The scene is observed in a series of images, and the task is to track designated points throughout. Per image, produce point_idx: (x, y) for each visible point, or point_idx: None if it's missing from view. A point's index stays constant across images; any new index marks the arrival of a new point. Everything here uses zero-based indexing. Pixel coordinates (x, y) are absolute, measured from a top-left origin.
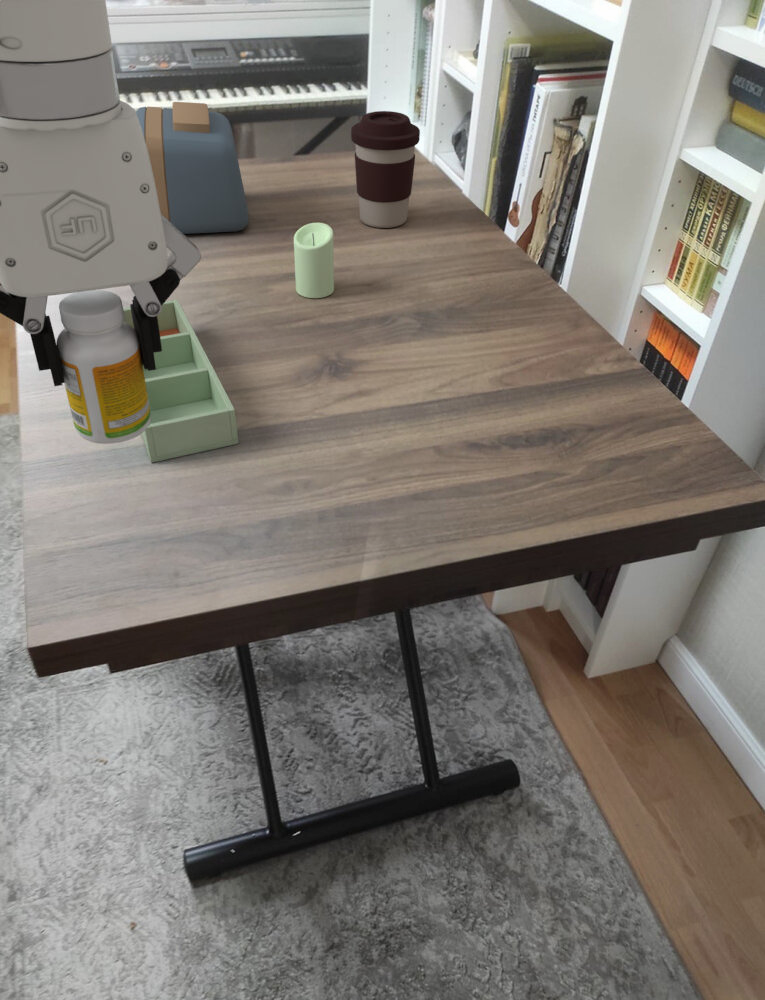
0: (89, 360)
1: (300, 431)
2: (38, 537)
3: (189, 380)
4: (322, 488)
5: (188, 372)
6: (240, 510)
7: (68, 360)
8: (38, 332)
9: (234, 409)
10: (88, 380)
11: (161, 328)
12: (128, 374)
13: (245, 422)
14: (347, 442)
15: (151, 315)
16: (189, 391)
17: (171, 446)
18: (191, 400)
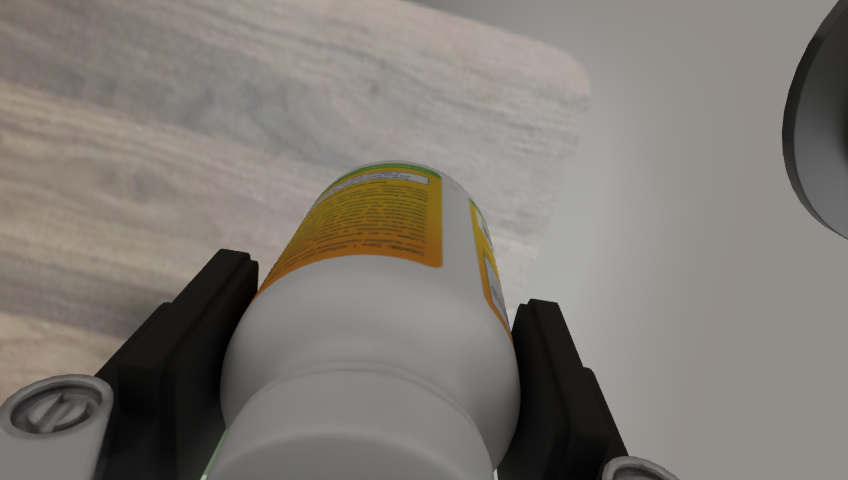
0: (444, 290)
1: (80, 303)
2: (522, 270)
3: (208, 464)
4: (85, 157)
5: (202, 477)
6: (233, 176)
7: (507, 337)
8: (620, 458)
9: None
10: (459, 257)
11: None
12: (320, 237)
13: None
14: (8, 242)
15: (92, 381)
16: (218, 449)
17: None
18: (223, 436)
